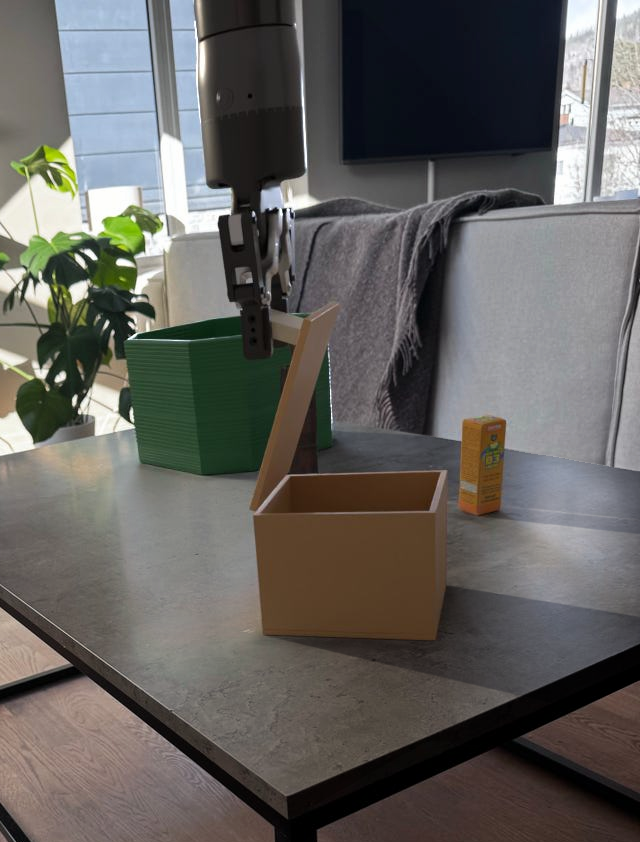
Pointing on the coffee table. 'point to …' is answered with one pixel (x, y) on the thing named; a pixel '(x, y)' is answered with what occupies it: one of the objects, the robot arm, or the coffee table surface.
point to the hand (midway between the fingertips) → (268, 351)
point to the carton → (353, 555)
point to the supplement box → (482, 464)
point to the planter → (210, 397)
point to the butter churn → (304, 434)
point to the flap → (293, 391)
